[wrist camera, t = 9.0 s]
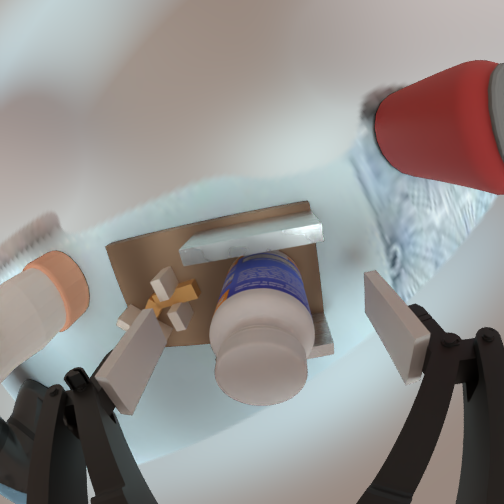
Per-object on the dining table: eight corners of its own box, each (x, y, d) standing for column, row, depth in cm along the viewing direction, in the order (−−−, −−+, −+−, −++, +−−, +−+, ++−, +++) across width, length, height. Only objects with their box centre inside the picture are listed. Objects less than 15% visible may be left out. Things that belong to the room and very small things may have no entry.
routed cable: (139, 342, 22) (129, 358, 20) (111, 276, 20) (97, 289, 18) (216, 337, 22) (210, 355, 19) (191, 262, 19) (182, 275, 17)
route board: (150, 341, 24) (146, 347, 23) (111, 242, 20) (105, 246, 20) (323, 320, 22) (325, 327, 21) (307, 200, 19) (309, 202, 18)
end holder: (226, 337, 21) (219, 369, 18) (196, 232, 19) (178, 250, 15) (324, 322, 21) (334, 353, 17) (310, 210, 18) (321, 223, 14)
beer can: (452, 151, 16) (566, 164, 5) (401, 191, 18) (518, 235, 6) (412, 80, 15) (517, 39, 3) (354, 116, 16) (457, 73, 5)
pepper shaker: (33, 275, 22) (-83, 367, 4) (57, 235, 21) (-100, 335, 3) (72, 325, 24) (-29, 443, 6) (101, 294, 22) (-31, 441, 4)
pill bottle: (223, 247, 19) (183, 326, 10) (301, 244, 19) (329, 323, 9) (231, 314, 21) (207, 413, 12) (301, 312, 20) (317, 412, 11)
